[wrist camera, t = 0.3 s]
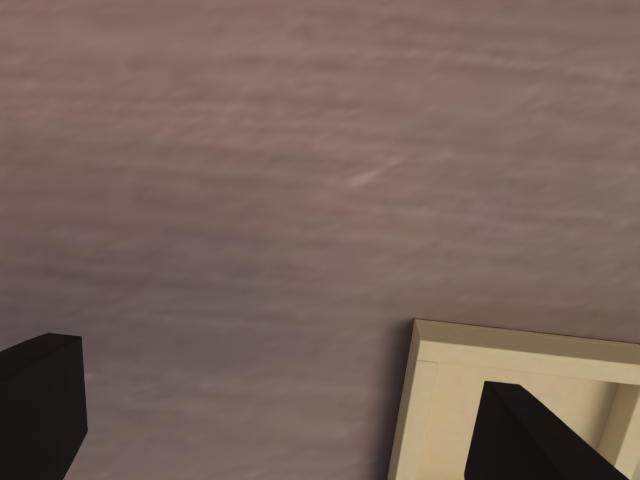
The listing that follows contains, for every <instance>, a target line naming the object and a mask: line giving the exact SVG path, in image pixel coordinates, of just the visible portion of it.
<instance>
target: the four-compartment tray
mask: <svg viewBox="0 0 640 480" xmlns="http://www.w3.org/2000/svg"><path fill="white" fill-rule="evenodd" d="M484 381H494V382H503V383H512V384H520V385H521V386H522V387H524V388H525V389H526V390H527V391H529V392H530V393H531V394H532V395H533V396H535V397H536V398H537V399H538V400H539V401H540V402H542V403H543V404H544V405H545V406H546V407H547V408H548V409H549V410H551V411H552V412H553V413H554V414H555V415H556V416H557V417H558V418H560V419H561V420H562V421H563V422H564V423H565V424H566V425H567V426H568V427H570V428H571V429H572V430H573V431H574V432H575V433H576V434H577V435H579V436H580V437H581V438H582V439H583V440H584V441H585V442H586V443H588V444H589V445H590V446H591V447H592V448H593V449H594V450H596V451H597V452H598V453H599V454H600V455H601V456H602V457H604V458H605V459H606V460H607V461H608V462H609V463H611V464H612V465H613V466H614V467H615V468H616V469H618V470H619V471H620V472H621V473H622V474H624V475H625V476H626V477H627V478H628V479H630V480H640V344H633V343H624V342H615V341H606V340H597V339H588V338H579V337H570V336H562V335H553V334H544V333H535V332H526V331H517V330H508V329H499V328H491V327H482V326H473V325H464V324H455V323H446V322H437V321H429V320H420V319H415V322H414V327H413V333H412V339H411V345H410V350H409V356H408V362H407V368H406V373H405V379H404V385H403V391H402V397H401V402H400V408H399V414H398V420H397V425H396V431H395V437H394V443H393V449H392V454H391V460H390V466H389V472H388V477H387V480H465V479H464V470H465V466H466V461H467V457H468V452H469V448H470V443H471V439H472V434H473V430H474V425H475V421H476V417H477V412H478V408H479V403H480V399H481V394H482V390H483V385H484Z"/></svg>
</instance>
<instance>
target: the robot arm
mask: <svg viewBox="0 0 640 480" xmlns="http://www.w3.org/2000/svg"><path fill="white" fill-rule="evenodd" d="M87 431H88V428H87V412H86V397H85V382H84V367H83V352H82V336H72V335H63V334H54V333H46V334H43V335H40V336H37V337H35V338H32V339H29V340H27V341H24V342H22V343H19V344H17V345H15V346H12V347H10V348H7V349H5V350H3V351H1V352H0V480H63V479H64V477H65V475H66V473H67V471H68V469H69V467H70V465H71V464H72V462H73V460H74V458H75V456H76V454H77V452H78V450H79V448H80V446H81V444H82V442H83V440H84V438H85V436H86V434H87ZM464 479H465V480H630V479H628V478H627V477H626V476H625V475H624V474H622V473H621V472H620V471H619V470H618V469H616V468H615V467H614V466H613V465H612V464H611V463H609V462H608V461H607V460H606V459H605V458H604V457H602V456H601V455H600V454H599V453H598V452H597V451H596V450H594V449H593V448H592V447H591V446H590V445H589V444H588V443H586V442H585V441H584V440H583V439H582V438H581V437H580V436H579V435H577V434H576V433H575V432H574V431H573V430H572V429H571V428H570V427H568V426H567V425H566V424H565V423H564V422H563V421H562V420H561V419H560V418H558V417H557V416H556V415H555V414H554V413H553V412H552V411H551V410H549V409H548V408H547V407H546V406H545V405H544V404H543V403H542V402H540V401H539V400H538V399H537V398H536V397H535V396H533V395H532V394H531V393H530V392H529V391H527V390H526V389H525V388H524V387H522V386H521V385H520V384H512V383H503V382H494V381H484V385H483V390H482V394H481V399H480V403H479V408H478V412H477V417H476V421H475V425H474V430H473V434H472V439H471V443H470V448H469V452H468V457H467V461H466V466H465V470H464Z"/></svg>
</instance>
